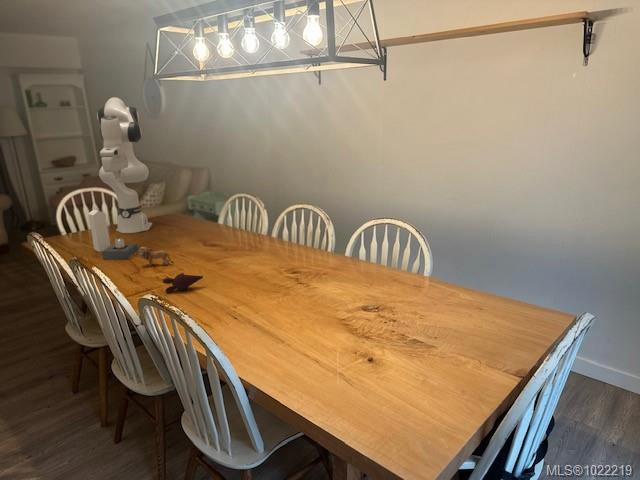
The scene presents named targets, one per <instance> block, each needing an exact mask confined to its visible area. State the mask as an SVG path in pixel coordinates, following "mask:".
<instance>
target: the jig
mask: <svg viewBox="0 0 640 480" xmlns="http://www.w3.org/2000/svg"><path fill="white" fill-rule="evenodd" d="M124 244H125V248H124V249H116V245H115V243H113V244H110V247H108V248H107V249H105V250H103V251H101V253H102V259H103V260H131V259H132V258H134V257H135V256H136V255H138V254H139V246H138V243H124Z"/></svg>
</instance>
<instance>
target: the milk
mask: <svg viewBox="0 0 640 480" xmlns="http://www.w3.org/2000/svg"><path fill="white" fill-rule="evenodd" d="M92 208H93V209H92V210H91V211H90V212H88V214H87V215H88V220H89V227H90V231H91V238H92V244H93V250H94V251H96V252H98V253H102V251H103V250H105V249H107V248H108V247H110V246H111V241H110V236H109V235H110V234H109V229H108V223H107V215H106V212H103V211H101V210H99V207H96V206H93V207H92Z"/></svg>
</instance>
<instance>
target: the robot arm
mask: <svg viewBox="0 0 640 480" xmlns="http://www.w3.org/2000/svg"><path fill="white" fill-rule="evenodd" d="M96 118H97V121H98V123H99V125H100V128H99V134H100V138H101V139H102V140H103V148H102V149H101V150H100V151H99V156H100V157H101V164H102V165H101V167H100V169H99V171H98V174H99V175H98V176H99V178H100V180H101V181H102V182H103V183H104V184H107V185H108V186H109V187H110V188H111V189H112V190H113V191H114V194H115V197H116V201H117V204H118V205H117V206H118V208H117V212H118V216H117V219H116V220H117V228H116V230H115V231H116V232H119V233H121V234H135V233H140V232H145V231H149V230H150V228H151V227H152V226H153V222H149V220H148V216H147V214H145V213H144V212H142V209H143V205H142V204H140V203H139V202H140V201H139V196H138V195H139V194H138V192H137V191H136V190H134V189H133V188H129V187H128V186H126V185H125V184H128V183H139V182H140V183H141V182H143V181H147V179H148V177H149V175H150V174H149V173H150V172H149V168H148V166H147V165H146V164H145V163H143V162H141V161H140V160H139V159H138V158H137V157H136V156H135V154H134V153H135V152H134V147H133V143H138V142H139V141H140V140H141V139H142V136H143V133H142V128H141V126H140V124H139V121H140V114H139V112H138V110H137V108H136V107H134V106H126V104H125V102H124V101H123V100H122V99H121V98H119V97H116V96H115V97H114V96H113V97H111V98H109V99H108V100H107V101H106V103H105V104H104V106H102V107H100V108H99V109H98V110H97V112H96Z"/></svg>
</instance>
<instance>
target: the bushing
mask: <svg viewBox="0 0 640 480" xmlns="http://www.w3.org/2000/svg"><path fill="white" fill-rule="evenodd" d="M114 244H115V245H116V249H124V248H125V244H126V243H125V240H124V238H123V237H120V238H118V237H117V238H115V239H114Z"/></svg>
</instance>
